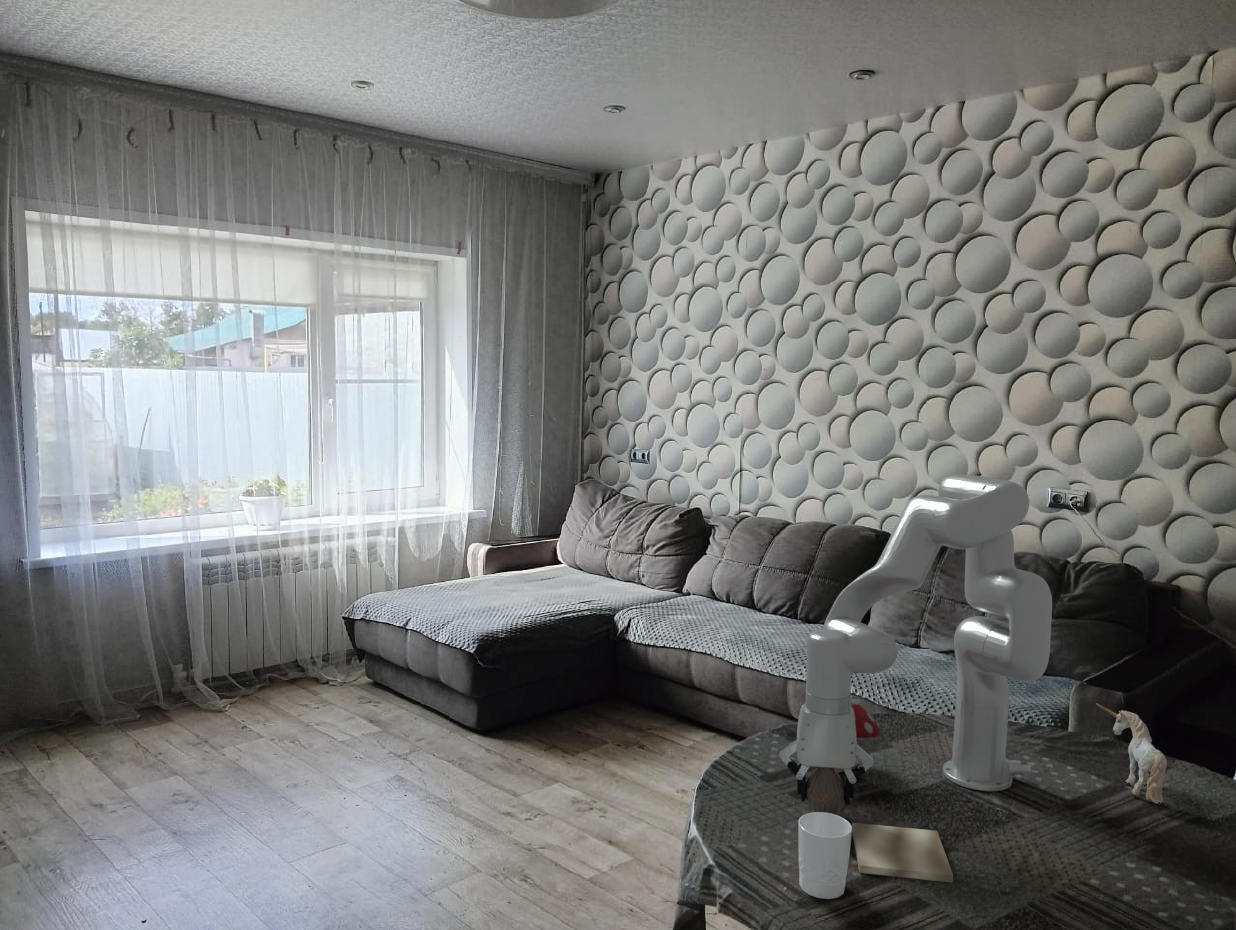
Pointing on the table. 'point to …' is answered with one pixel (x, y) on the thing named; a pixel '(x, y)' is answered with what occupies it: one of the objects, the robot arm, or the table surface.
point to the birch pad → (900, 852)
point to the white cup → (823, 854)
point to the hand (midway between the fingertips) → (824, 799)
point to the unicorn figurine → (1141, 755)
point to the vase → (825, 791)
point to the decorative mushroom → (862, 726)
